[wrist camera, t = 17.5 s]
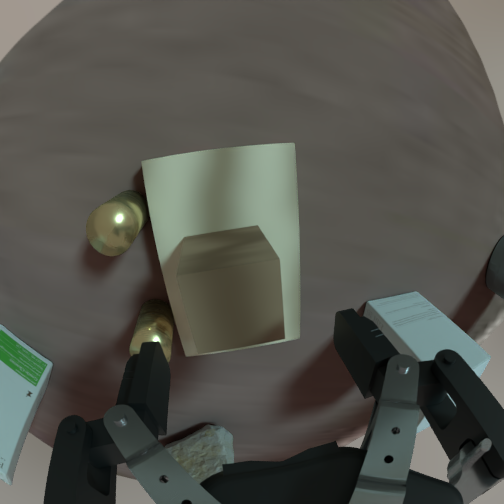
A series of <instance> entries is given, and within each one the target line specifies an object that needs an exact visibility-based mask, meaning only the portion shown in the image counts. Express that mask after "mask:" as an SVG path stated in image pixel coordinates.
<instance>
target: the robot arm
mask: <svg viewBox="0 0 504 504" xmlns="http://www.w3.org/2000/svg"><path fill="white" fill-rule="evenodd" d="M486 284H487V287H488V288H489V289H490V290H491V291H493V292H494V293H496V294H497V295H499V296H500V297H501V298H503V299H504V236H503V237H502V238H501V239H500V241H499V242H498V244H497V246H496V247H495V249H494V252H493V254H492V256H491V259H490V262H489V265H488V269H487V274H486ZM334 345H335V348H336V350H337V352H338V354H339V355H340V357H341V359H342V360H343V362H344V364H345V365H346V367H347V369H348V371H349V372H350V374H351V376H352V377H353V379H354V381H355V383H356V384H357V386H358V388H359V390H360V391H361V393H362V395H363V396H364V398H365V399H366V398H368V397H371V396H374V398H375V403H374V406H373V410H372V414H371V417H370V421H369V424H368V428H367V431H366V434H365V437H364V440H363V442H362V445H361V447H360V449H359V448H354V447H338V445H337V443H336V441H334V442H331V443H328V444H324V445H321V446H317V447H314V448H310V449H308V450H306V451H304V452H302V453H299V454H297V455H295V456H293V457H291V458H289V459H287V460H284V461H281V462H268V461H246V462H238V463H230V464H222V467H223V471H221V472H218V473H216V474H213V475H211V476H210V477H208V478H206V479H205V480H204V481H202V482H201V483H200V484H199V483H198V482H196V481H195V480H194V479H193V478H192V477H191V476H190V475H189V474H188V473H187V472H186V471H185V469H184V468H183V467H182V466H181V465H180V464H179V463H178V462H177V461H176V460H175V459H174V458H173V457H172V456H171V454H170V453H169V452H168V451H167V450H166V449H165V448H164V447H163V445H162V444H161V443H159V441H158V435H166V433H167V416H168V402H169V389H170V378H171V375H170V368H169V365H168V362H167V359H166V357H165V354H164V352H163V349H162V347H161V344H160V342H159V341H150V342H142V344H141V348H140V352H139V354H133V355H132V356H131V358H130V359H129V360H128V361H127V364H126V368H125V372H124V375H123V380H122V383H121V387H120V390H119V395H118V399H117V403H116V406H113V407H111V408H110V409H109V410H108V411H107V412H106V413H105V415H104V418H102V419H98V420H94V421H90V422H85V421H84V420H83V419H82V418H81V417H80V416H76V415H72V416H68V417H66V418H65V419H63V420H62V421H61V423H60V424H59V427H58V431H57V435H56V439H55V443H54V447H53V451H52V456H51V461H50V466H49V471H48V476H47V483H46V489H45V496H44V504H115V503H116V499H115V498H116V474H117V464H121V463H126V464H127V466H128V468H129V469H130V470H131V472H132V473H133V475H134V476H135V477H136V479H137V480H138V481H139V483H140V484H141V485H142V486H143V488H144V489H145V491H146V492H147V493H148V494H149V496H150V497H151V498H152V499H153V500H154V502H155V503H156V504H469V503H470V502H471V501H473V500H474V499H476V498H477V497H478V496H480V495H481V494H483V493H485V492H486V491H488V490H489V489H491V488H492V487H494V486H495V485H496V484H498V483H499V482H501V481H502V480H503V479H504V409H503V408H502V407H501V405H500V404H499V403H498V401H497V400H496V399H495V397H494V396H493V395H492V393H491V392H490V391H489V390H488V388H487V387H486V386H485V385H484V384H483V382H482V381H481V379H480V378H479V377H478V376H477V375H476V373H475V372H474V371H473V370H472V369H471V367H470V366H469V365H468V364H467V363H466V361H465V360H464V359H463V358H462V357H461V356H460V355H459V354H458V353H457V352H455V351H453V350H450V349H444V350H441V351H439V352H438V353H437V354H436V356H435V358H434V360H428V361H420V362H417V360H416V359H415V358H413V357H412V356H409V355H405V354H400V353H399V352H398V351H397V349H396V348H395V347H394V346H393V345H392V343H391V342H390V341H389V340H388V339H387V337H386V336H385V335H383V333H382V331H381V330H380V329H379V328H378V327H377V325H376V324H375V323H374V322H373V321H372V320H370V319H368V318H366V317H365V316H363V317H360V316H359V315H358V314H357V313H356V312H355V310H354V309H352V308H351V309H347V310H343V311H338V312H337V313H336V315H335V327H334ZM447 393H448V394H449V396H450V397H451V399H452V400H453V402H454V403H455V405H456V406H455V405H454V403H453V402H452V400H451V399H450V397H449V396H448V395H447ZM420 409H421V411H422V413H423V414H424V416H425V418H426V419H427V421H428V423H429V424H430V426H431V428H432V429H433V431H434V433H435V435H436V436H437V438H438V440H439V441H440V443H441V445H442V447H443V449H444V451H445V452H446V454H447V456H448V458H449V459H450V462H449V464H448V467H447V471H448V474H447V478H448V479H449V483H448V482H445V481H442V480H439V479H436V478H433V477H430V476H427V475H424V474H421V473H419V472H416V471H413V470H411V469H409V468H410V463H411V459H412V454H413V449H414V443H415V438H416V432H417V425H418V418H419V410H420Z"/></svg>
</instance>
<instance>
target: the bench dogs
mask: <svg viewBox="0 0 504 504" xmlns="http://www.w3.org/2000/svg"><path fill="white" fill-rule="evenodd" d="M149 214H150V212H149V207H148V201H147V199H146V198H145V197H144V196H143V195H142V194H141V193H139V192H137V191H134V190H127V191H124V192H121V193H120V194H118V195H117V196H115V197H113V198H112V199H110V200H109V201H107V202H106V203H104V204H102V205H101V206H99V207H98V208H96V209H95V210H94V211H93V212H92V213H91V214H90V216H89V218H88V220H87V224H86V233H87V237H88V240H89V242H90V244H91V245H92V246H93V248H94V249H95V250H97V251H98V252H99V253H101V254H103V255H107V256H117V255H120V254H122V253H124V252H125V251H126V250H127V249H128V248H129V247H130V245H131V244H132V242H133V241H134V239H135V238H136V236H137V235H138V233H139V232H140V231H141V229H142V228H143V226H144V225H145V223H146V222H147V220H148V218H149ZM174 320H175V319H174V316H173V312H172V308H171V306H170V305H169V304H168V303H166V302H164V301H162V300H156V299H155V300H149V301H147V302H146V303H144V304H143V306H142V307H141V310H140V314H139V317H138V320H137V324H136V327H135V330H134V334H133V337H132V341H131V344H130V349H129V352H130V355H131V356H132V355H133V354H139V352H140V348H141V344H142V342H150V341H159V342H160V344H161V347H162V349H163V352H164V354H165V357H166V359H167V362H168V363H169V361H170V358H171V348H172V338H173V329H174Z"/></svg>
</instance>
